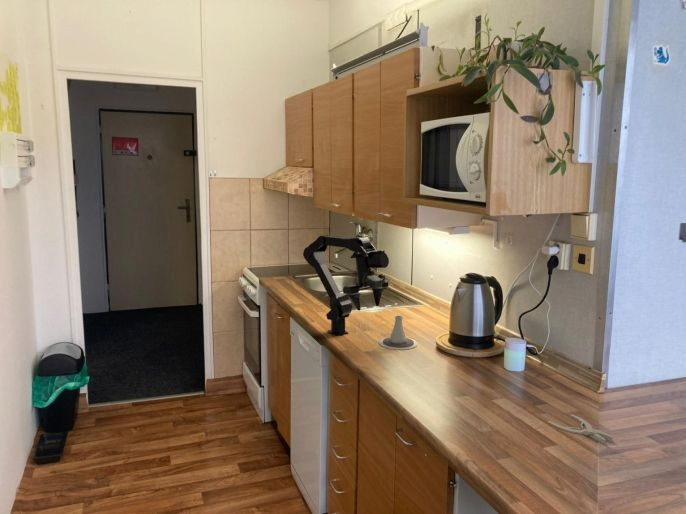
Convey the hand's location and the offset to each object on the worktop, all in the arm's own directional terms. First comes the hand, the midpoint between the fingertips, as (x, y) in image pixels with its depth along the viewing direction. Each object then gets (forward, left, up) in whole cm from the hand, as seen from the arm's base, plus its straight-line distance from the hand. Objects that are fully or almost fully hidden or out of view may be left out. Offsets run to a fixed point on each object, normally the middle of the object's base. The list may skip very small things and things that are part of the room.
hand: (368, 308), depth 220 cm
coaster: (+9, +8, -13) cm, 18 cm away
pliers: (+91, +9, -14) cm, 93 cm away
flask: (+9, +8, -12) cm, 17 cm away
